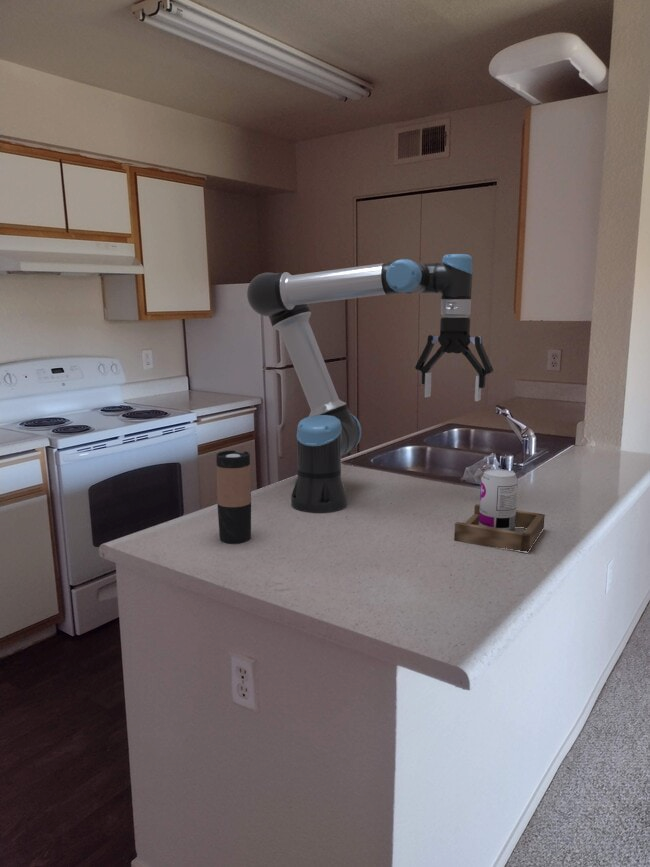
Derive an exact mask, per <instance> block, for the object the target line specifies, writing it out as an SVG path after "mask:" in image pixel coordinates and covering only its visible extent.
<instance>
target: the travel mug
mask: <svg viewBox="0 0 650 867" xmlns="http://www.w3.org/2000/svg"><path fill="white" fill-rule="evenodd" d="M215 458H216V459H215V460H216V497H217V498H216V499H217V502H216V503H217V518H218V530H219V531H218V533H219V540H220V541H221V543H222V542H223V543H226V544H235V545H236V544H242V543H245V542H248V541H250V540H251V536H252V535H251V534H252V490H251V489H252V488H251V487H252V486H251V484H252V483H251V480H252V479H251V460H250V459H251V454H250V452H249V451H247V450H246V451H245V450H244V451H243V452H237V451H236V450H233V449H232V450H224V451H219V452H217V453H216V457H215Z"/></svg>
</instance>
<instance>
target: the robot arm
mask: <svg viewBox="0 0 650 867" xmlns="http://www.w3.org/2000/svg"><path fill="white" fill-rule="evenodd" d="M473 273H474V272H473V257H472V256H471V255H470V254H466V253H452V254H451V253H450V254H444V255H443V256H442V260H441V262H435V263H431V262H430V263H426V262H424V263H423V262H416V261H414V260H411V259H407V258H401V259H397V260H395V261H391V262H383V263H375V264H368V265H360V266H353V267H346V268H337V269H331V270H330V269H328V270H322V271H317V272H308V273H299V274H293V275H292V274H291V273H290V272H285V271H284V272H276V273H275V272H263V273H259V274H257V275H256V276H254V278H253V279H252V280H251V281H250V282H249V285H248V287H247V290H246V291H247V292H246V297H247V301H248V304H249V306H250V307H251V309H252V310H253V311H254V312H255V313H257V314H259V315H260V316H264V317H268V318H269V322H270V324H271V326H272V329H273V330H276V331H278V332H280V334H281V335H280V336H281V338H282V340H283V342H284V345H285V347H286V350H287V352H288V355H289V358H290V360H291V362H292V365H293V367H294V370H295V373H296V375H297V377H298V380H299V383H300V386H301V389H302V391H303V394H304V396H305V398H306V400H307V404H308V405H309V406H308V407H309V408H310V413H309V415H308V416H307V417H304V418H302V419H301V420H300V421H299V422H298V423H297V429H296V430H297V431H296V447H297V448H296V452H297V453H296V454H297V455H296V456H297V458H296V460H297V462H296V463H297V468H296V469H297V478H296V480H295V483H294V487H293V489H292V493H291V498H290V501H291V502H290V505H291V507H292V508H294V509H296V510H299V511H301V512H302V511H303V512H309V513H330V512H336V511H340V510H343V509H345V507H347V506H348V494H347V492H346V491H347V490H346V489H345V486H344V482H343V479H342V471H341V470H342V463H341V462H342V457H343V456H344V455H347V454H349V453H350V452H352V451H353V450H354V449H355V448H356V447H357V445H358V444H359V443H360V440H361V437H362V426H361V423H360V421H359V419H358V418H357V417H356V416H355V415H353V414H352V413H351V412H350V409H349V407H348V404H347V402H345V401H344V400H343V401H342V400H341V399H339V396H338V393H337V391H336V389H335V386H334V383H333V380H332V378H331V375H330V373H329V370H328V368H327V365H326V362H325V360H324V357H323V355H322V352H321V350H320V346H319V344H318V343H317V339H316V336H315V334H314V332H313V329H312V327H311V323H310V317H311V315H312V311H311V309H310V306H309V304H317V303H325V302H332V301H333V302H335V301H341V300H350V299H358V298H366V297H368V298H369V297H375V296H383V295H396V294H407V295H408V294H409V295H410V294H440V293H441V296H440V297H441V298H440V299H441V300H440V315H441V316H442V317H441V318H440V322H439V324H440V327H439V336H437V335H436V334H431V335H430V334H429V335H428V336H427V342H426V344H425V347H424V349H423V351H422V352H421V355H420V357H419V359H418V360H417V361H416V362H417V363H416V365H415V366H414V369H415V370H417V371H419V372H421V384H422V385H424V398H430V397H431V396H432V395H431V394H432V375H433V374H432V373H433V372H431V371H430V370H431V369H432V368H433V366H434V365H435V364H436V363H437V362H438V361H439V360H440V358H441V357H442V356H443V355H444V354H445V353H447V354H453V353H454V354H462V355H463V356H464V357H465V358H466V359H467V360H468V361H469V363H470V364H471V366H472V367H473V368H474V370H475V371H476V372H477V374H476V375H475V384H474V386H475V387H474V402H479V401H481V399H482V398H481V396H482V389H484V388H485V387H486V375H488V374H491V373H492V374H493V372H494V368H493V366H492V363H491V362H490V359H489V356H488V355H487V352H486V350H485V347H484V345H483V337H482V336H481V335H477V336H473V337H471V335H470V334H471V318H470V317H469V316H471V312H472V310H471V309H472V308H471V307H472V288H473V275H474V274H473ZM437 342H438V343H439V345H440V347H439V348H438V349H437V350H436V352H435V353H434V354H433V355H432V357H430V359H429V360H428V357H429V356H430V354H431V352H432V350H433V348H434V347H435V344H437ZM471 342H472V345H473V346H474V347H475V349H476V352H477V354H478V356H479V358H480V361H481V363H480V362H479V360H478V358H476V356H475V354H473V352H472V350H471V349H470V347H469V345H470V344H471ZM427 360H428V361H427ZM426 361H427V362H426Z"/></svg>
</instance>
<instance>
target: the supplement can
mask: <svg viewBox="0 0 650 867" xmlns="http://www.w3.org/2000/svg"><path fill="white" fill-rule="evenodd" d="M518 483H519V479H518V477H517V476H516V473H515V471H512V470H509V469H502V468H501V469H499V468H496V469H495V468H491V469H487V470H484V472H483V474H482V476H481V477H480V491H479V492H480V494H479V505H480V509H479V523H478V525H479V526H485V527H491V528H497V529H503V530H509V531H515V532H516V528H515V521H516V510H517V502H518V485H519V484H518Z"/></svg>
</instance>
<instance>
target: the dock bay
mask: <svg viewBox="0 0 650 867" xmlns="http://www.w3.org/2000/svg"><path fill="white" fill-rule="evenodd" d="M479 509H480V503H479V504H478V503H476V504H475V505H474V509H473V510H474V511H473V512H474V513H473V514H472V515H471V516H470V517H469V518H468V519H467V520H466V521H465V522H460V521H456V522H455V523H454V538H453V539H454V541H456V542H461V543H467V544H472V545H473V544H474V545H478V546H483V547H488V546H490V547H489V548H493V547H498V548H497V549H499V548H505V549H506V548H507V549H513V550H520V551H527V552H528V551H529V549H530V548H531V546H532V545H533V543H534V542H535V540H536V539H537V537H538V536H539V534H540V532H541V531H542V529H543V528H544V527H545V515H546V514H545V513H544V514H543V513H539V512H538V513H537V512H531V511H525V510H517V509H516V521H515V527H524V528H527V529H526V530H525V529H524V532H520V531H516V530H515V531H509V530H503V529H497V528H491V527H485V526H479ZM539 537H540V536H539ZM537 540H538V539H537ZM535 543H536V542H535ZM533 546H534V545H533ZM531 549H532V548H531ZM529 552H530V551H529Z"/></svg>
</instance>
